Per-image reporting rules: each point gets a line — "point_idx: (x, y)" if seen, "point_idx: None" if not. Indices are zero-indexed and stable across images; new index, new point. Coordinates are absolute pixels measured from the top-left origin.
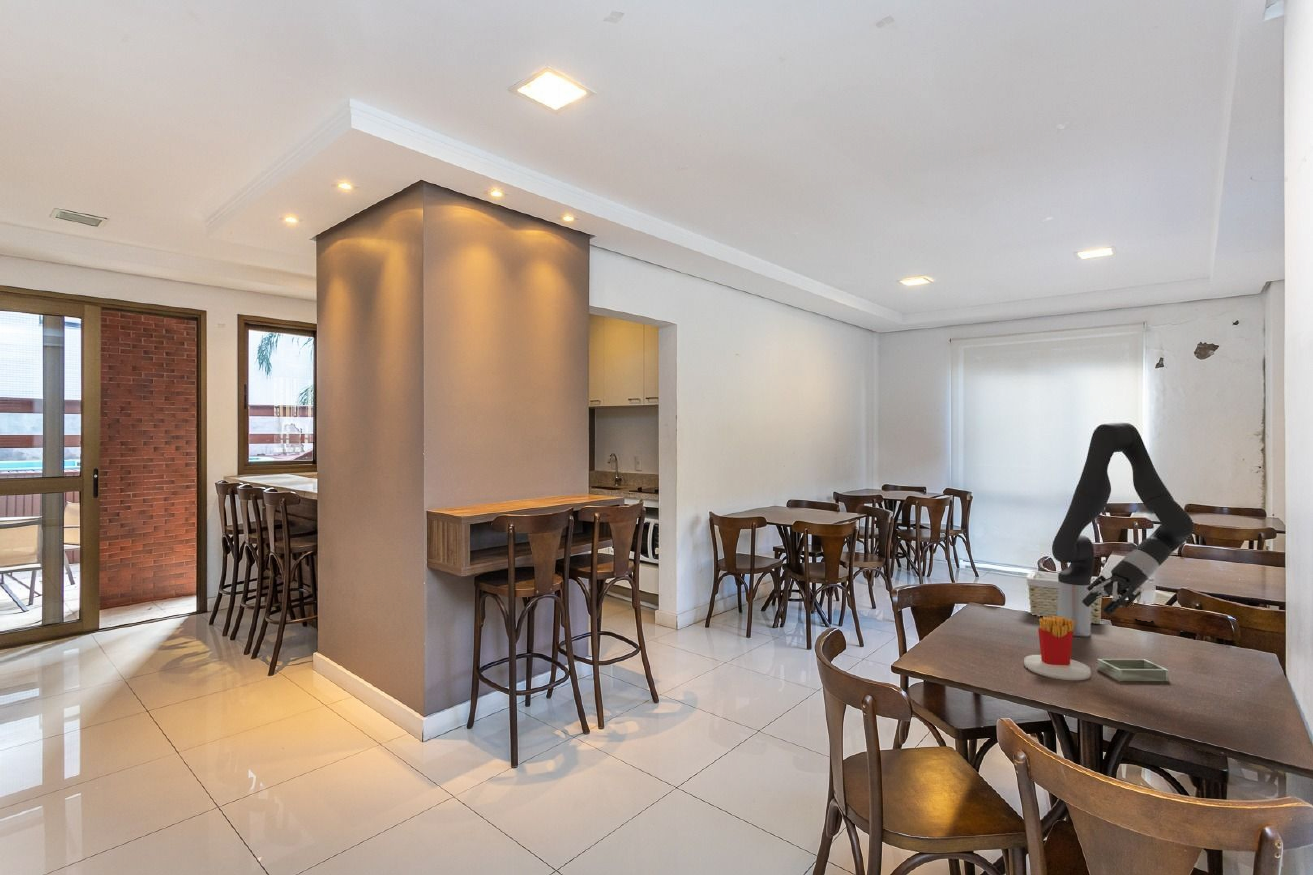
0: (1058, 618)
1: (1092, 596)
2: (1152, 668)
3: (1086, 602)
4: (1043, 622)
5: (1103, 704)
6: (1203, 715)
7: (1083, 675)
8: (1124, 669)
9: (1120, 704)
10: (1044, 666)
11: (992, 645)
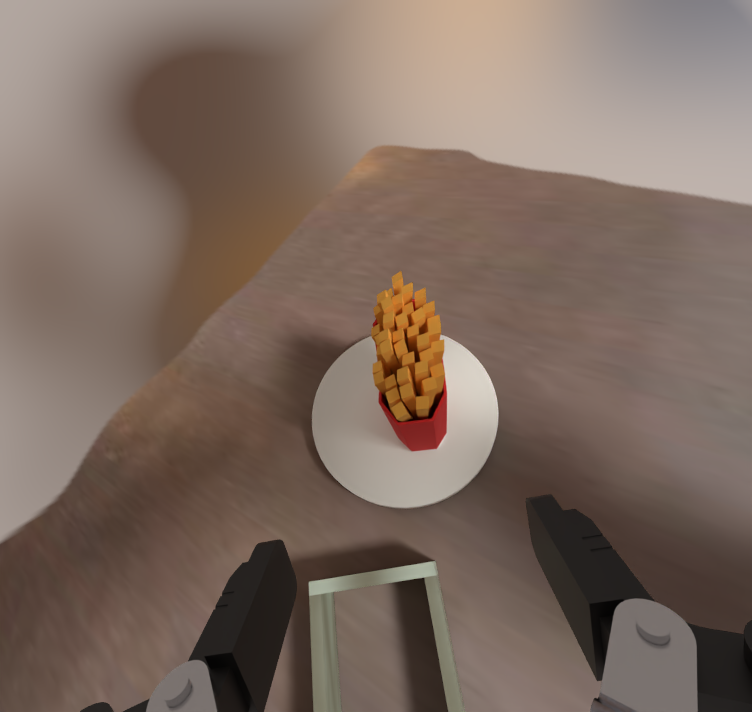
0: (419, 346)
1: (578, 609)
2: None
3: (537, 530)
4: (389, 291)
5: (168, 430)
6: (52, 700)
7: (319, 453)
8: (315, 613)
9: (161, 473)
10: None
11: (602, 297)
